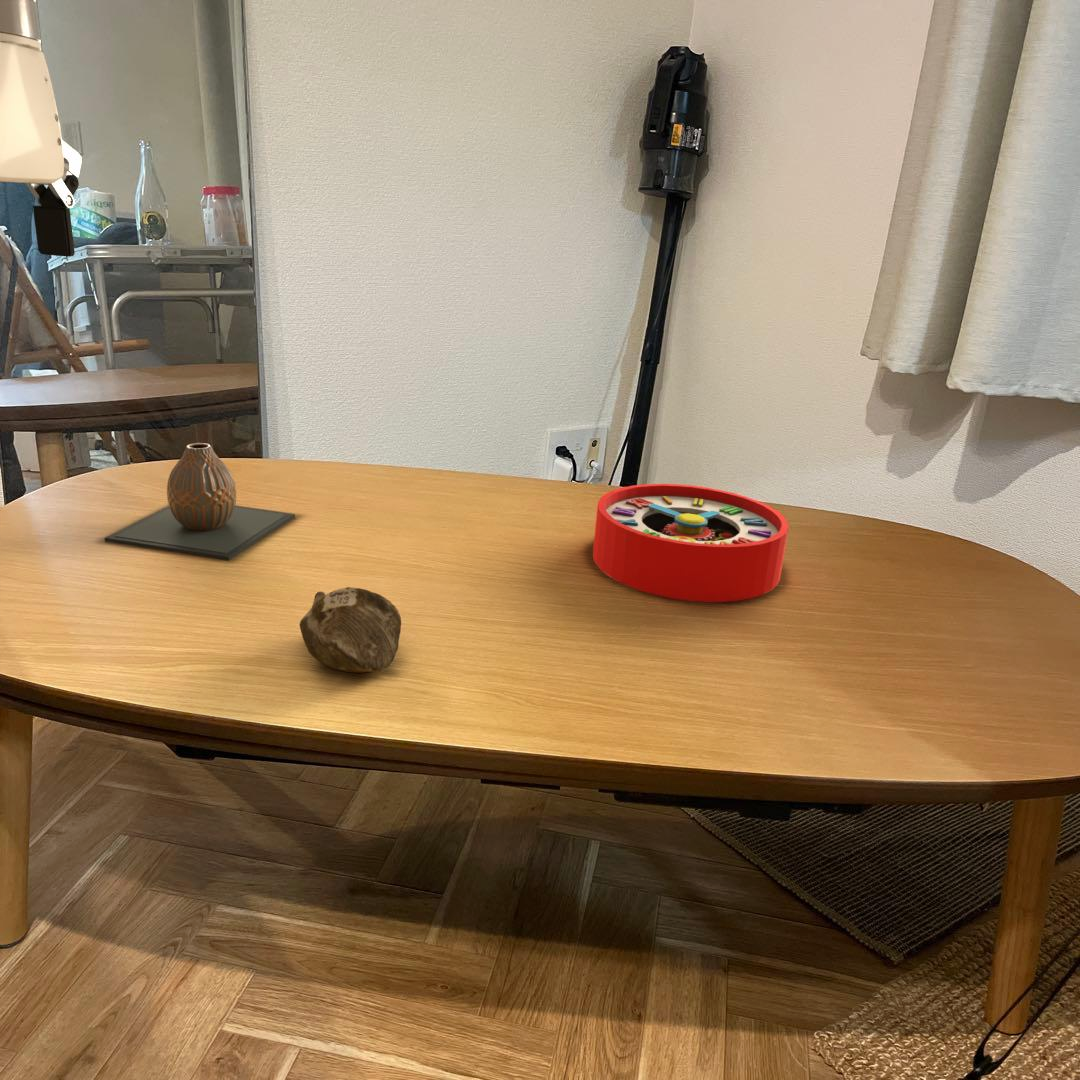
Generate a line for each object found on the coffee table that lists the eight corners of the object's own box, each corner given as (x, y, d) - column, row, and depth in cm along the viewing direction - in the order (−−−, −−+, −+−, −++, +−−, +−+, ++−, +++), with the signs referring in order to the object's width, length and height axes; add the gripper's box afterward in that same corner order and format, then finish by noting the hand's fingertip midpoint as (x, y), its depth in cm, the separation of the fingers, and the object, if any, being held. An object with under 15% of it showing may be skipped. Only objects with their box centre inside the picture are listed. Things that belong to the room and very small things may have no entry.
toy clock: (709, 562, 81) (558, 502, 95) (701, 620, 83) (554, 553, 97) (826, 522, 94) (678, 474, 108) (816, 573, 96) (672, 520, 110)
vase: (251, 523, 98) (247, 445, 95) (200, 541, 92) (194, 458, 89) (208, 509, 101) (202, 434, 98) (155, 525, 95) (148, 445, 92)
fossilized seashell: (303, 598, 77) (275, 673, 68) (341, 544, 74) (317, 614, 65) (379, 639, 79) (362, 716, 70) (419, 587, 76) (406, 661, 68)
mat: (104, 542, 92) (104, 537, 92) (184, 502, 105) (184, 497, 104) (229, 561, 89) (228, 556, 89) (295, 518, 102) (295, 513, 102)
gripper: (25, 41, 77) (50, 250, 83) (-165, -5, 61) (-117, 258, 67) (102, 44, 75) (122, 257, 81) (-72, -2, 60) (-31, 267, 66)
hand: (14, 257), depth 74 cm, fingers open, 9 cm apart
